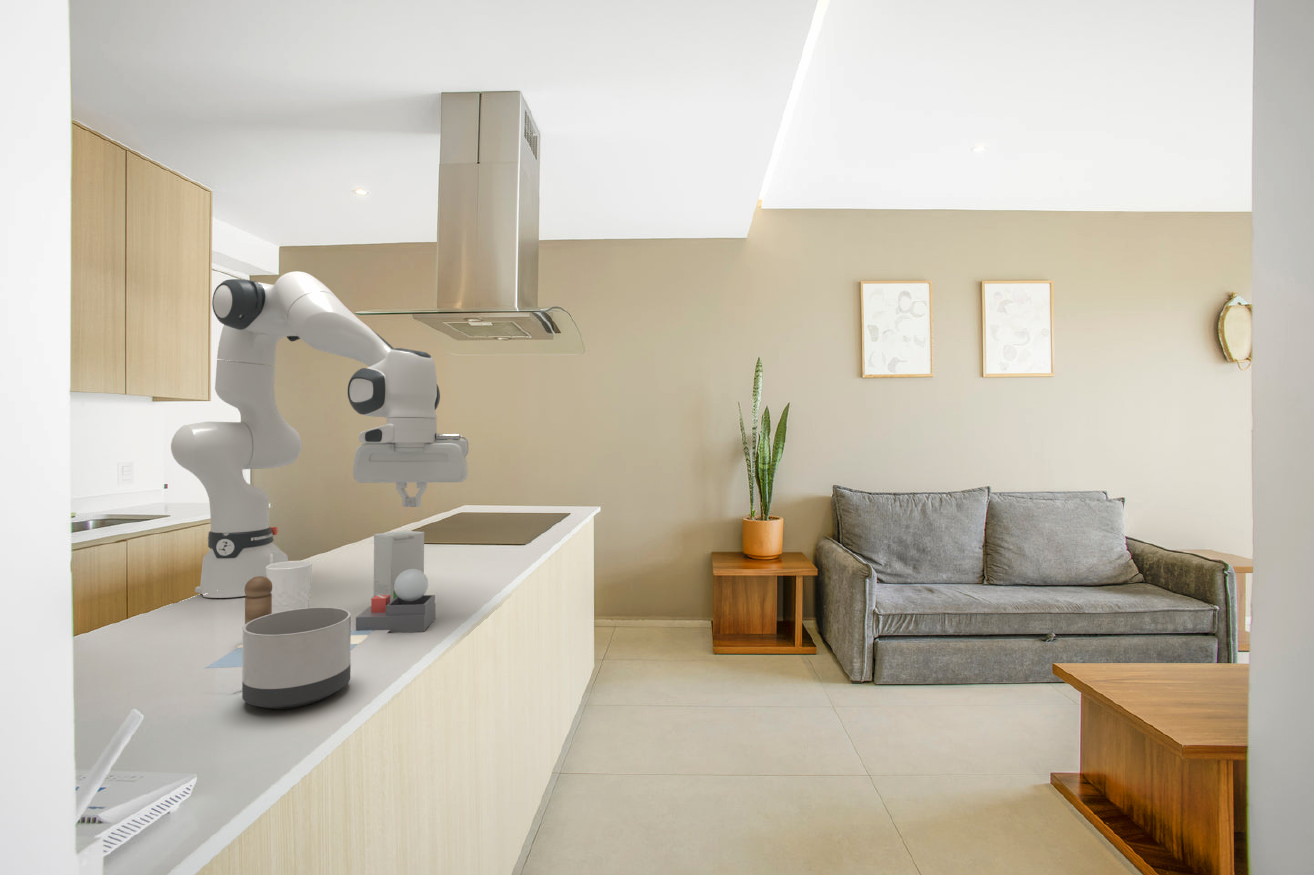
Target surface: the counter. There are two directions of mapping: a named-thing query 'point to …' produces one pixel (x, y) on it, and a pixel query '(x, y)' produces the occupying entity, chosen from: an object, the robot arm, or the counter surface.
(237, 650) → the board
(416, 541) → the skincare box
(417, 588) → the ball
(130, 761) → the counter surface
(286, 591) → the white cup
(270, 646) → the planter
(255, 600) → the brown pepper mill
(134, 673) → the counter surface
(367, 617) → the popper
